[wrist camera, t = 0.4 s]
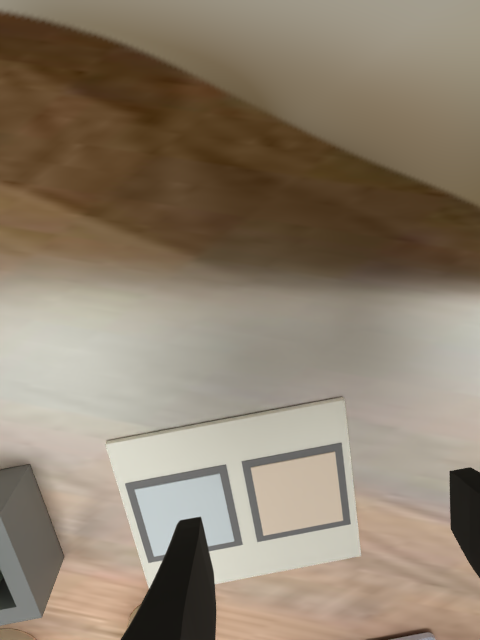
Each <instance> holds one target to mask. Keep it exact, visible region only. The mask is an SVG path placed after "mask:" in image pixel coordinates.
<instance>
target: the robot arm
mask: <svg viewBox="0 0 480 640" xmlns="http://www.w3.org/2000/svg"><path fill="white" fill-rule="evenodd" d="M450 514H451V530H452V532H453V534H454V536H455V538H456V540H457V541H458V543H459V545H460V547H461V549H462V551H463V552H464V554H465V556H466V558H467V560H468V561H469V563H470V565H471V566H472V568H473V569H474V571H475V572H476V573H477V575H478V576H479V578H480V472H478V471H476V470H474V469H472V468H471V467H470V468H465V469H459V470H454V471H450ZM215 630H216V599H215V583H214V571H213V567H212V562H211V558H210V553H209V549H208V545H207V540H206V536H205V531H204V527H203V523H202V518H201V517H195V518H190V519H184V520H180V521H179V522H178V523H177V525H176V528H175V531H174V534H173V536H172V539H171V542H170V544H169V547H168V549H167V551H166V554H165V556H164V558H163V561H162V563H161V565H160V567H159V569H158V572H157V574H156V576H155V578H154V580H153V582H152V584H151V586H150V588H149V590H148V592H147V594H146V596H145V598H144V600H143V602H142V603H141V605H140V607H139V609H138V611H137V613H136V615H135V617H134V618H133V620H132V622H131V623H130V625H129V627H128V629H127V630H126V632H125V634H124V635H123V637H122V638H121V640H215ZM390 640H436V639H435V637H434V635H433V634H432V633H429V632H426V633H421V634H416V635H410V636H405V637H400V638H395V639H390Z"/></svg>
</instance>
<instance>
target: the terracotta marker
mask: <svg viewBox="0 0 480 640" xmlns="http://www.w3.org/2000/svg"><path fill="white" fill-rule="evenodd" d="M0 640H36V639H35V638H34V637H32V636H31V635H29V634H27V633H25V632H23V631H20V630H16V629H0Z"/></svg>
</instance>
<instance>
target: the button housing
mask: <svg viewBox="0 0 480 640" xmlns="http://www.w3.org/2000/svg"><path fill="white" fill-rule="evenodd" d="M63 559H64V555H63V553H62V550H61V547H60V545H59V542H58V539H57V537H56V534H55V531H54V528H53V526H52V523H51V520H50V518H49V515H48V512H47V510H46V507H45V504H44V501H43V499H42V496H41V493H40V491H39V488H38V485H37V483H36V480H35V477H34V474H33V472H32V469H31V466H30V464H29V465H24V466H19V467H13V468H8V469H3V470H0V570H1V572H2V574H3V578H2V580H1V582H0V626H1V625H6V624H11V623H16V622H21V621H26V620H32V619H37V618H42V616H43V613H44V611H45V608H46V605H47V602H48V600H49V597H50V594H51V592H52V589H53V586H54V584H55V581H56V578H57V575H58V573H59V570H60V567H61V565H62V562H63Z"/></svg>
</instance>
